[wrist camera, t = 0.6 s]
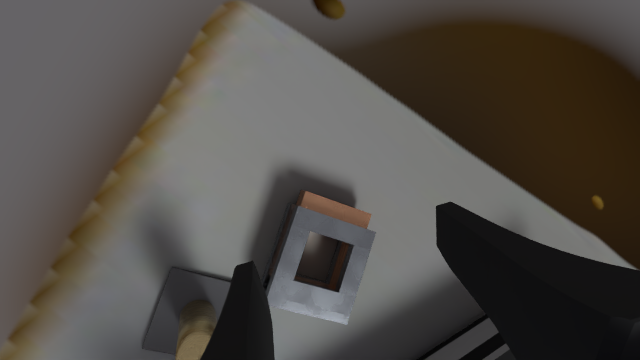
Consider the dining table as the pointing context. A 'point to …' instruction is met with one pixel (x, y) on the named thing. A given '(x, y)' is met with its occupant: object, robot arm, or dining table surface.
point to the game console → (473, 344)
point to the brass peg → (195, 329)
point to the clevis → (345, 268)
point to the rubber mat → (182, 306)
